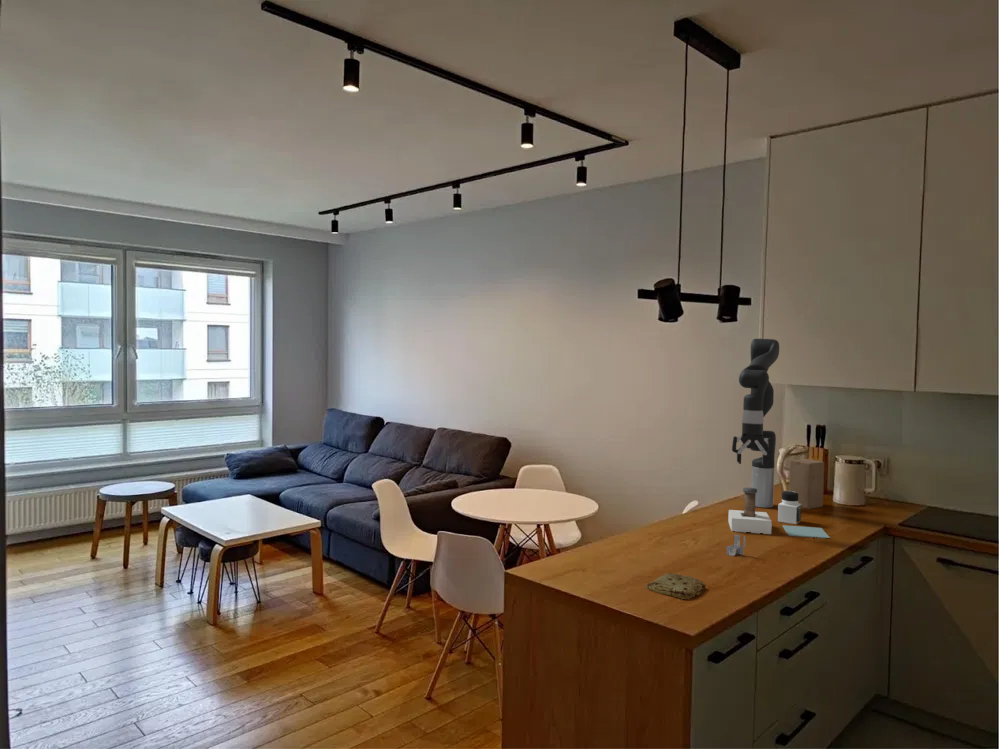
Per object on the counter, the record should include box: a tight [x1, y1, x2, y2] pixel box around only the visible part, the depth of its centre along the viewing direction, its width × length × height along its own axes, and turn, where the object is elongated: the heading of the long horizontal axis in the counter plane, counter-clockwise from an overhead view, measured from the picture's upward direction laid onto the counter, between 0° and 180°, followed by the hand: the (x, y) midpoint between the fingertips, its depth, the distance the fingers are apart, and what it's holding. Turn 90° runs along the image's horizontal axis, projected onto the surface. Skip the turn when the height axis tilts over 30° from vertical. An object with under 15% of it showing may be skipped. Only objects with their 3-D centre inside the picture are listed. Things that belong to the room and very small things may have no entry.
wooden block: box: [789, 458, 825, 510], centre depth 296 cm, size 10×10×20 cm
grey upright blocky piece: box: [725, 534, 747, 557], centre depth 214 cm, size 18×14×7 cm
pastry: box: [644, 572, 707, 600], centre depth 190 cm, size 17×17×3 cm
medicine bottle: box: [777, 490, 802, 525], centre depth 268 cm, size 7×7×12 cm
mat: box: [781, 524, 831, 539], centre depth 252 cm, size 14×14×1 cm
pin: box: [742, 487, 757, 517], centre depth 256 cm, size 5×5×15 cm
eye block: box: [727, 509, 773, 535], centre depth 256 cm, size 14×14×5 cm
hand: (751, 464), depth 256 cm, fingers open, 8 cm apart
